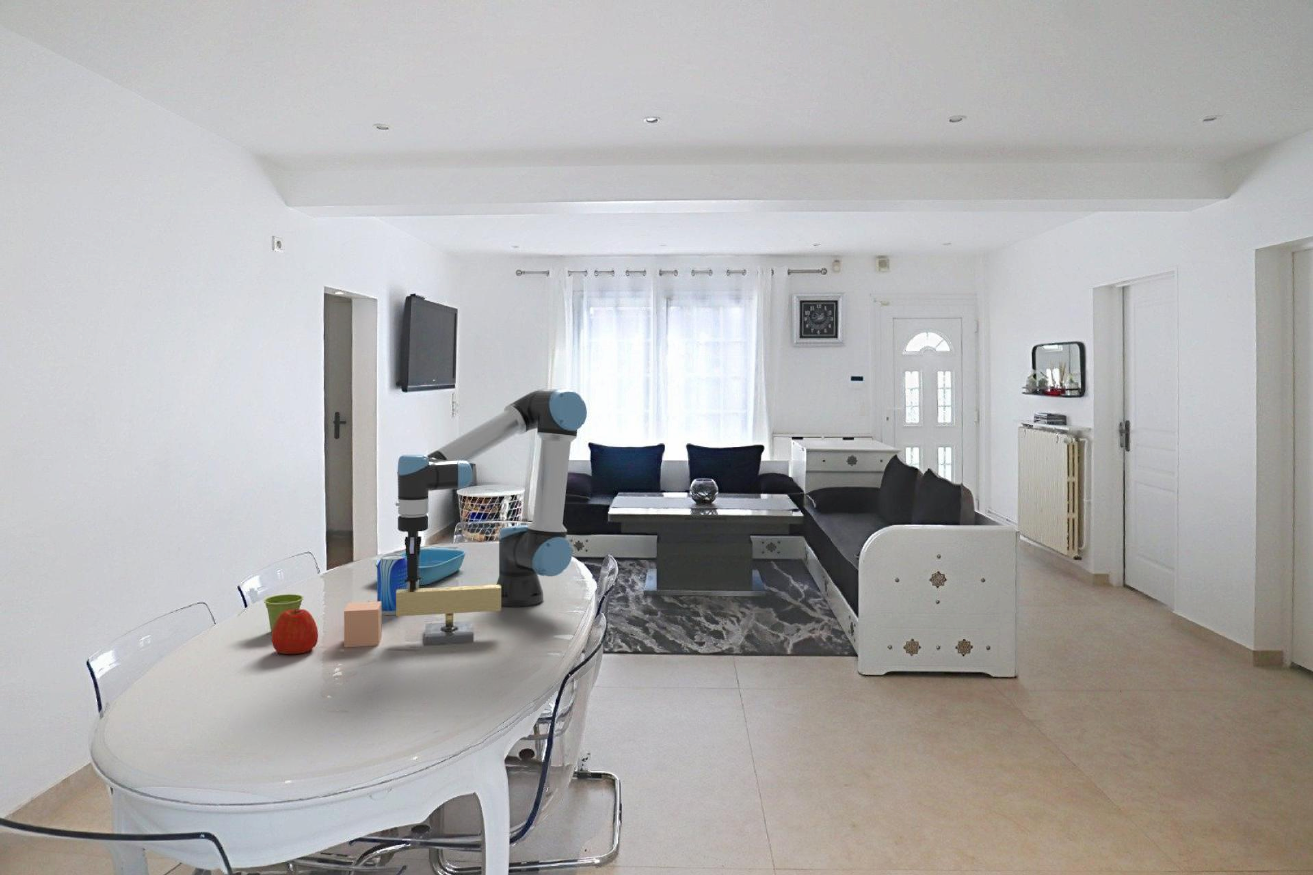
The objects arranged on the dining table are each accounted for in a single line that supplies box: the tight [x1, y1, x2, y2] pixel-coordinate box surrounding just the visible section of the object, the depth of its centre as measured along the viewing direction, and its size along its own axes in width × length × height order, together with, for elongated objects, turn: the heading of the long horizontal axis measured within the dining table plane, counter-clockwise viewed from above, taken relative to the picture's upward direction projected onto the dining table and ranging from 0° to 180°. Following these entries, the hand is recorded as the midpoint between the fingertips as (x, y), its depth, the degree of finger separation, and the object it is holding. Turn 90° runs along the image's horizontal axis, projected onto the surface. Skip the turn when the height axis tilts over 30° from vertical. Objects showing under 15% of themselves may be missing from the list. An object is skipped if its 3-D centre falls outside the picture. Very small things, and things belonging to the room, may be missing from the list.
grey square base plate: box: [423, 620, 475, 646], centre depth 205 cm, size 12×12×2 cm
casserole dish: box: [375, 547, 467, 586], centre depth 273 cm, size 37×22×7 cm, turn 170°
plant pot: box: [263, 593, 304, 634], centre depth 208 cm, size 9×9×9 cm
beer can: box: [376, 554, 407, 616], centre depth 227 cm, size 8×8×16 cm
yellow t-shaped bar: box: [395, 584, 502, 628], centre depth 205 cm, size 26×4×10 cm, turn 105°
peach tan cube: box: [343, 601, 383, 648], centre depth 200 cm, size 8×8×9 cm
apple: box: [271, 608, 319, 655], centre depth 192 cm, size 10×10×10 cm
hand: (413, 605), depth 205 cm, fingers closed
